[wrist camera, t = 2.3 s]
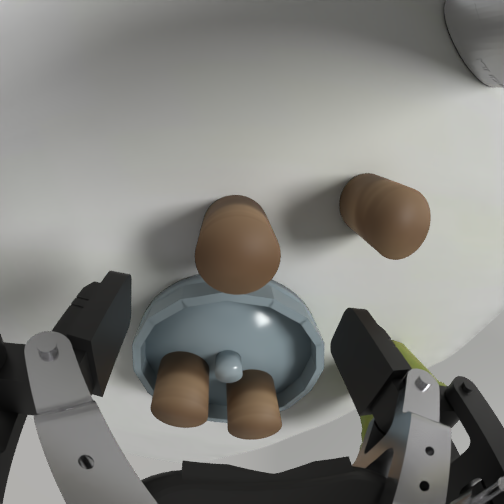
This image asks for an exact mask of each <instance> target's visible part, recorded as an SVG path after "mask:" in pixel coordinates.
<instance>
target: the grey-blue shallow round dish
mask: <svg viewBox="0 0 504 504" xmlns="http://www.w3.org/2000/svg"><path fill="white" fill-rule="evenodd" d="M132 350H133V367H134V372H135V373H136V375H137V376H138V378H139V380H140V381H141V383H142V384H143V386H144V387H145V389H146V390H147V392H148V393H149V394H150V395H152V396H153V393H154V388H155V384H156V379H157V374H158V370H159V365H160V361H161V359H162V358H163V357H164V356H165V355H166V354H168V353H171V352H176V351H185V352H190V353H193V354H196V355H198V356H200V357H201V358H203V359H204V360H205V361H206V362H207V364H208V366H209V370H210V371H209V401H208V419H207V421H214V422H224V423H227V392H226V383H233V382H236V381H238V380H240V379H241V377H242V375H243V373H242V371H243V370H249V369H256V370H261V371H265V372H267V373H268V374H270V375H271V376H272V378H273V380H274V385H275V390H276V396H277V401H278V406H279V411H283V410H285V409H288V408H289V407H291V406H292V405H293V404H295V403H296V402H297V401H299V400H300V399H301V398H302V397H304V396H305V395H306V394H308V393H309V392H310V391H311V390H312V388H313V386H314V385H315V383H316V381H317V380H318V378H319V376H320V375H321V373H322V371H323V369H324V341H323V339H322V337H321V334H320V332H319V330H318V328H317V326H316V323H315V321H314V319H313V316H312V314H311V312H310V311H309V309H308V307H307V306H306V305H305V303H304V302H303V301H302V300H301V299H300V298H299V297H298V296H297V295H296V294H295V293H294V292H292V291H291V290H290V289H288V288H287V287H285V286H284V285H282V284H280V283H278V282H276V281H274V280H270V281H269V282H268V283H267V284H266V285H265V286H263V287H262V288H260V289H259V290H256V291H254V292H251V293H248V294H242V295H233V294H226V293H223V292H220V291H218V290H216V289H214V288H212V287H211V286H210V285H208V284H207V283H206V282H205V281H204V280H203V278H202V277H201V276H200V275H195V276H192V277H189V278H186V279H184V280H181V281H179V282H177V283H175V284H173V285H171V286H169V287H168V288H167V289H165V290H164V291H163V292H161V293H160V294H159V295H158V296H157V297H156V298H155V299H154V300H153V301H152V302H151V304H150V305H149V306H148V308H147V309H146V311H145V313H144V316H143V318H142V320H141V323H140V325H139V328H138V330H137V333H136V335H135V338H134V341H133V344H132Z"/></svg>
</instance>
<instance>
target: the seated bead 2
mask: <svg viewBox="0 0 504 504" xmlns="http://www.w3.org/2000/svg"><path fill="white" fill-rule="evenodd" d="M242 373H243V375H242V377H241V379H240V380H238V381H236V382H233V383H226V392H227V423H228V432H229V433H230V434H231V435H233V436H235V437H237V438H241V439H261V438H266V437H269V436H271V435H273V434H275V433H277V432H278V431H279V430H280V429H281V427H282V422H281V417H280V411H279V406H278V401H277V396H276V390H275V385H274V380H273V378H272V376H271V375H270V374H268V373H267V372H265V371H261V370H256V369H249V370H243V371H242Z"/></svg>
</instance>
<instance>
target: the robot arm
mask: <svg viewBox="0 0 504 504" xmlns="http://www.w3.org/2000/svg"><path fill="white" fill-rule="evenodd" d="M444 14H445V20H446V24H447V27H448V30H449V33H450V36H451V38H452V40H453V43H454V45H455V47H456V48H457V50H458V52H459V54H460V56H461V57H462V59H463V61H464V62H465V64H466V65H467V66H468V68H469V69H470V70H471V72H472V73H473V74H474V75H475V76H476V77H477V78H478V79H479V80H480V81H482V82H483V83H484V84H486V85H488V86H490V87H503V88H504V0H446V3H445V6H444ZM130 319H131V275H130V274H125V273H120V272H115V271H109V272H108V274H107V275H106V276H105V278H104V279H103V280H102V282H101V283H99V282H93V283H91V284H89V285H87V286H86V287H84V288H83V289H82V290H81V292H80V293H79V294H78V295H77V298H75V299H74V301H73V302H72V303H71V306H69V307H68V309H67V310H66V312H65V313H64V314H63V316H62V317H61V318H60V320H59V321H58V323H57V324H56V326H55V327H54V328H53V330H52V331H44V332H40V333H38V334H35V335H34V336H32V337H31V338H30V339H29V340H28V341H27V343H26V344H15V343H5V342H3V340H2V337H1V334H0V504H2V503H3V498H4V493H5V487H6V483H7V479H8V475H9V471H10V467H11V463H12V460H13V456H14V453H15V449H16V446H17V443H18V440H19V437H20V434H21V431H22V428H23V425H24V423H25V420H26V417H27V415H34V422H35V426H36V430H37V433H38V436H39V439H40V442H41V445H42V448H43V451H44V454H45V456H46V459H47V462H48V464H49V467H50V469H51V472H52V474H53V476H54V479H55V481H56V483H57V485H58V487H59V489H60V492H61V494H62V496H63V498H64V500H65V502H66V504H504V428H503V426H502V424H501V423H500V421H499V420H498V418H497V417H496V415H495V414H494V412H493V410H492V409H491V407H490V406H489V404H488V403H487V401H486V400H485V399H484V397H483V396H482V394H481V393H480V391H479V390H478V389H477V387H476V386H475V385H474V384H473V382H471V381H470V380H469V379H467V378H465V377H461V376H458V377H456V378H455V379H454V380H453V381H452V383H451V384H450V385H449V386H441V385H439V384H438V382H437V380H436V379H435V378H434V377H433V376H432V375H431V374H430V373H428V372H427V371H424V370H422V369H412V368H411V366H410V365H409V363H408V362H407V361H406V359H405V358H404V356H403V355H402V353H401V352H400V351H399V349H398V348H397V347H395V346H396V345H395V344H394V342H393V341H392V340H390V339H391V338H390V337H389V335H388V334H387V333H386V331H385V330H384V329H383V328H381V327H380V326H379V325H378V324H377V323H376V321H375V320H374V319H373V317H372V316H371V315H370V313H369V312H368V311H367V310H365V309H356V308H348V309H346V310H345V312H344V314H343V316H342V318H341V321H340V323H339V325H338V327H337V329H336V331H335V334H334V336H333V338H332V341H331V354H332V356H333V358H334V360H335V363H336V365H337V367H338V369H339V371H340V373H341V376H342V378H343V380H344V382H345V384H346V387H347V389H348V391H349V393H350V396H351V398H352V400H353V402H354V405H355V407H356V409H357V411H358V414H359V416H365V415H373V417H374V418H373V419H372V420H371V421H370V423H369V425H368V428H367V431H366V434H365V437H364V440H363V443H362V446H361V448H360V451H359V454H358V456H357V459H356V461H355V462H354V464H353V465H351V462H350V459H349V457H342V458H336V459H329V460H322V461H315V462H311V463H308V464H306V465H303V466H300V467H297V468H294V469H290V470H287V471H284V472H281V473H276V474H270V473H265V472H259V471H254V470H249V469H245V468H240V467H236V466H232V465H227V464H210V463H199V462H190V461H183V463H182V470H180V471H170V472H165V473H160V474H157V475H153V476H150V477H148V478H145V479H143V480H140V479H139V477H138V476H137V474H136V473H135V471H134V470H133V468H132V466H131V465H130V463H129V462H128V460H127V459H126V457H125V455H124V454H123V452H122V450H121V448H120V447H119V445H118V443H117V442H116V440H115V438H114V436H113V434H112V432H111V431H110V429H109V427H108V425H107V423H106V421H105V419H104V417H103V415H102V413H101V411H100V409H99V407H98V405H97V403H96V402H95V401H93V399H92V397H91V395H92V394H94V395H97V396H101V397H103V394H104V391H105V388H106V386H107V383H108V380H109V377H110V374H111V372H112V369H113V366H114V364H115V361H116V358H117V356H118V353H119V350H120V348H121V345H122V343H123V340H124V338H125V335H126V333H127V330H128V328H129V324H130ZM458 420H460V421H461V423H462V424H463V426H464V428H465V430H466V431H467V433H468V435H469V437H470V446H469V448H468V449H467V450H466V451H465V452H464V453H463V454H462V455H461V456H460V455H459V453H458V451H457V449H456V447H455V445H454V443H453V442H452V439H451V428H452V427H453V426H454V425H455V424H456V423H457V422H458ZM481 479H482V480H481ZM480 480H481V481H480Z"/></svg>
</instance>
